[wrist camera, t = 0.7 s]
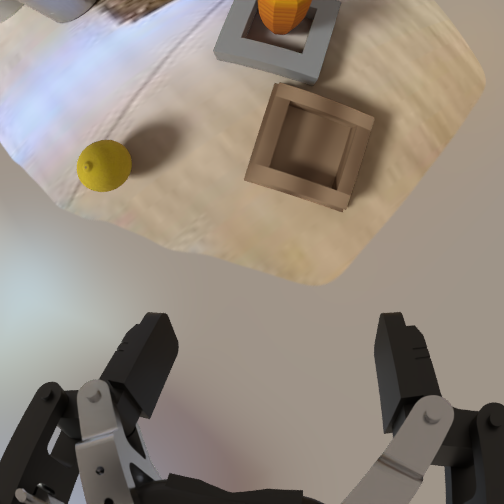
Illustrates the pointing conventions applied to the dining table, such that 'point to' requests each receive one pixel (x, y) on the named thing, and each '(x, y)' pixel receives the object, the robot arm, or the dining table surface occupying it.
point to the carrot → (282, 14)
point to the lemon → (104, 165)
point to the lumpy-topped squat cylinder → (9, 8)
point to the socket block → (272, 57)
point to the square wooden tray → (309, 147)
